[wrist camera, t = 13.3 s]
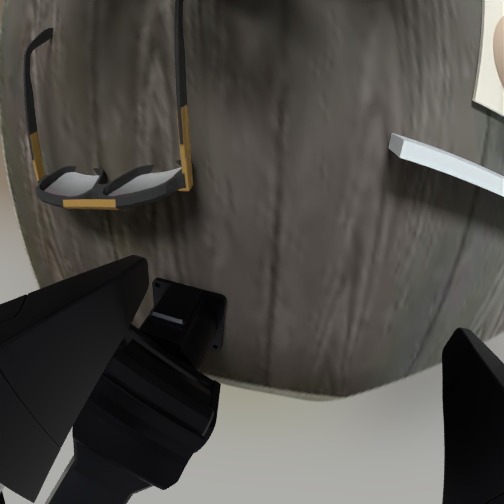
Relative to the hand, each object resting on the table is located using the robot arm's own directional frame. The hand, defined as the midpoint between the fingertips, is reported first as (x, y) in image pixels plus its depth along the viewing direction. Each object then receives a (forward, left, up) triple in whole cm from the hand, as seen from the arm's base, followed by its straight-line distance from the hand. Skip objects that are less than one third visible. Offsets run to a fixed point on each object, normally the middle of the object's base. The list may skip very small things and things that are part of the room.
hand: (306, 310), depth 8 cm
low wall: (+3, -11, -13) cm, 17 cm away
